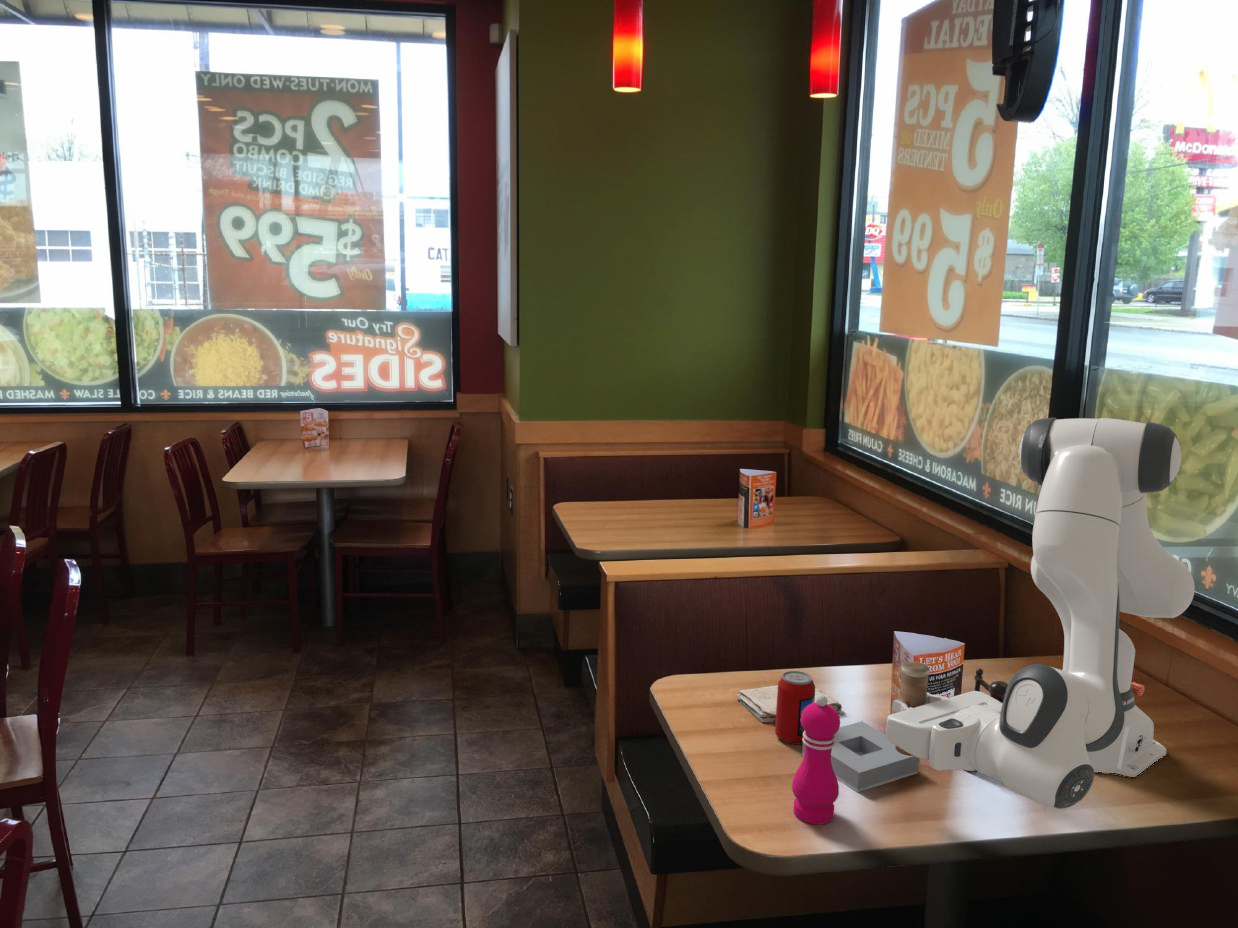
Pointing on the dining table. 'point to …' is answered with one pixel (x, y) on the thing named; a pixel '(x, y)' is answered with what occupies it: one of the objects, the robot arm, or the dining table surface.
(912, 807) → the dining table surface
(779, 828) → the dining table surface
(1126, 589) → the robot arm
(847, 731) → the hole block
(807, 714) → the pepper mill
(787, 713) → the beverage can
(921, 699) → the dowel
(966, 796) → the dining table surface
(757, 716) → the washcloth
